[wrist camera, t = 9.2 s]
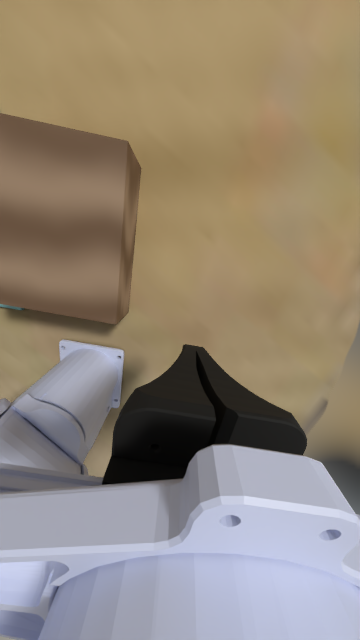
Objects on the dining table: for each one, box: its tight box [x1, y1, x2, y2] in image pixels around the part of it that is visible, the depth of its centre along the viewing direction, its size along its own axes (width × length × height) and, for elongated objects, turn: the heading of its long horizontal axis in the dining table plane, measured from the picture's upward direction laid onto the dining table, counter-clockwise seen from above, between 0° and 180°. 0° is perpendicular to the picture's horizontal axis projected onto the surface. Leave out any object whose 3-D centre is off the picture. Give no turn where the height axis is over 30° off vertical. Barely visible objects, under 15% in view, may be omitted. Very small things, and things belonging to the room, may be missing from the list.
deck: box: [0, 113, 141, 325], centre depth 16 cm, size 14×12×4 cm
